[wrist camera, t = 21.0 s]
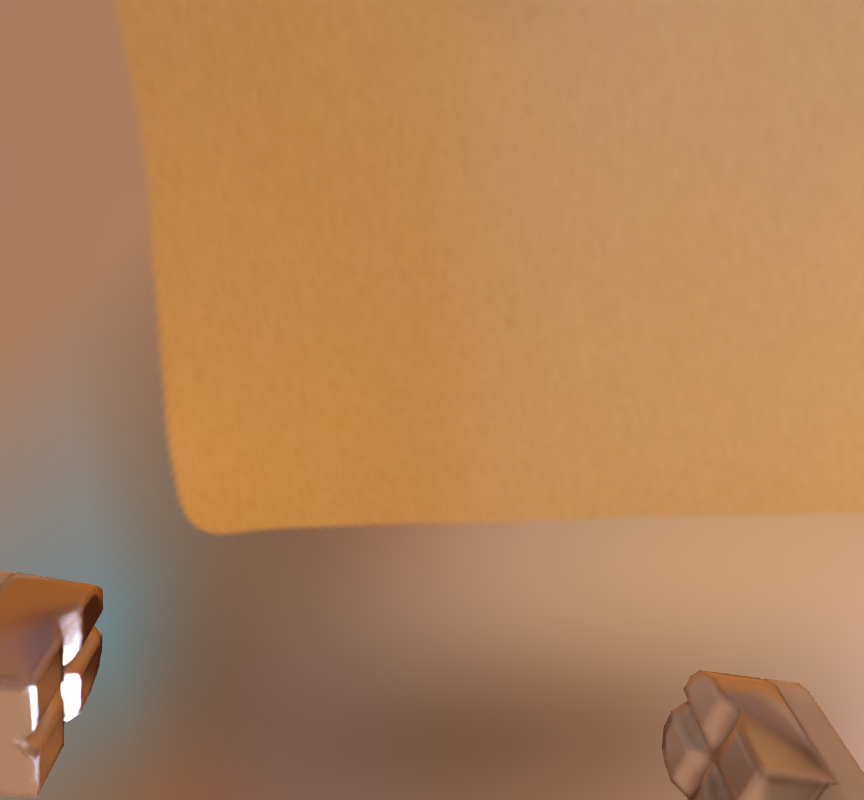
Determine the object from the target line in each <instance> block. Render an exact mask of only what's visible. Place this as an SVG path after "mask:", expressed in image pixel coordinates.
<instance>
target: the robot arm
mask: <svg viewBox="0 0 864 800" xmlns="http://www.w3.org/2000/svg"><path fill="white" fill-rule="evenodd" d="M102 610H103V590H102V589H101V588H100V587H99V586H96V585H90V584H84V583H78V582H72V581H66V580H59V579H54V578H48V577H42V576H36V575H30V574H23V573H18V572H17V573H12V572H6V571H0V795H5V796H19V797H33V798H37V796H38V794H39V792H40V790H41V789H42V787H43V785H44V783H45V781H46V779H47V777H48V775H49V773H50V771H51V769H52V767H53V765H54V763H55V761H56V759H57V757H58V755H59V754H60V752H61V750H62V748H63V746H64V723H66V722H67V721H68V720H70V719H71V718H73V717H74V716H76V715H77V714H79V713H80V712H81V710H82V708H83V706H84V704H85V702H86V700H87V698H88V696H89V694H90V692H91V689H92V686H93V683H94V680H95V677H96V674H97V671H98V668H99V662H100V657H101V652H102V635H101V633H100V632H99V631H98V630H97V628H96V627H95V626H94V624H95V623H96V621H97V619H98V618H99V616H100V614H101V612H102ZM684 692H685V695H686V698H687V702H685V703H683V704H682V705H680V706H678V707H677V708H675V709H674V710H672V711H671V713H670V715H669V717H668V719H667V722H666V724H665V726H664V730H663V743H662V750H663V756H664V762H665V766H666V768H667V771H668V774H669V776H670V779H671V782H672V783H673V784H674V785H675V786H676V787H677V788H678V789H679V790H680V791H681V792H682V793H683V794H684V795H685V796H686V797H687V798H688V800H864V773H863V771H862V770H861V768H860V767H859V765H858V764H857V762H856V761H855V759H854V758H853V756H852V755H851V754H850V752H849V750H848V749H847V747H846V746H845V744H844V743H843V741H842V740H841V738H840V737H839V735H838V734H837V732H836V731H835V729H834V728H833V726H832V725H831V723H830V722H829V721H828V719H827V717H826V716H825V714H824V713H823V711H822V710H821V709H820V707H819V706H818V704H817V703H816V701H815V700H814V698H813V697H812V695H811V694H810V692H809V691H808V690H807V689H805V688H804V687H803V686H801V685H800V684H799V683H794V682H786V681H778V680H770V679H760V678H754V677H746V676H739V675H731V674H723V673H716V672H708V671H700V670H699V671H698V672H696V673H695V674H693V675H692V676H690V678H689V680H688V682H687V684H686V685H685V687H684Z"/></svg>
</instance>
